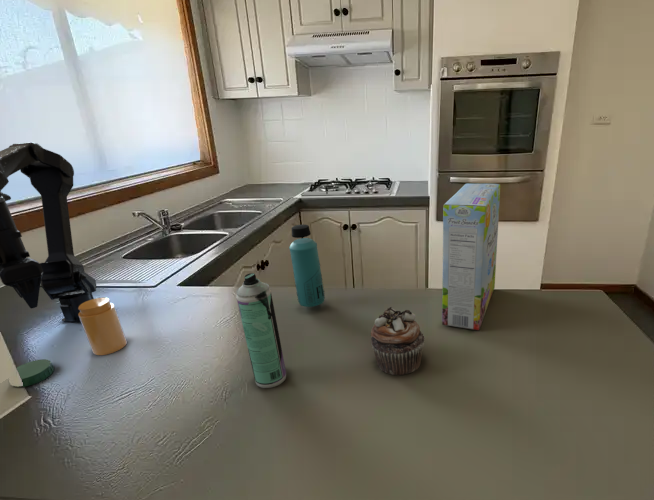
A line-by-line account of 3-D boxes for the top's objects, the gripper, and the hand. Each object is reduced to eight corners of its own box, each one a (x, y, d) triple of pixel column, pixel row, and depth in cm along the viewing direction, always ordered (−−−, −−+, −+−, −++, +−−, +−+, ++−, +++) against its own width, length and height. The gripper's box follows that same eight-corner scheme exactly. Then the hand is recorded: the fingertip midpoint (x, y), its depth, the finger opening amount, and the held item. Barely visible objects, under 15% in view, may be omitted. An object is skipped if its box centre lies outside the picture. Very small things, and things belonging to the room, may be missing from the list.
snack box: (483, 332, 84) (487, 205, 74) (440, 327, 87) (438, 204, 77) (497, 288, 102) (502, 181, 92) (461, 285, 106) (462, 181, 96)
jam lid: (2, 390, 78) (-2, 382, 77) (24, 369, 84) (21, 361, 84) (42, 384, 79) (38, 376, 78) (61, 364, 85) (58, 356, 85)
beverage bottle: (321, 313, 97) (309, 229, 89) (294, 312, 99) (280, 230, 91) (329, 301, 103) (319, 221, 95) (304, 300, 104) (291, 222, 97)
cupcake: (364, 373, 74) (359, 323, 70) (382, 345, 83) (379, 299, 79) (417, 382, 71) (415, 330, 67) (430, 351, 79) (429, 303, 75)
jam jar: (107, 339, 94) (92, 296, 90) (133, 339, 93) (118, 296, 89) (85, 355, 88) (67, 310, 84) (112, 355, 87) (96, 310, 83)
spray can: (292, 371, 77) (273, 269, 69) (276, 390, 72) (254, 282, 64) (266, 367, 78) (245, 267, 71) (249, 385, 74) (224, 280, 66)
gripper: (-65, 233, 81) (-29, 306, 87) (-55, 248, 69) (-15, 331, 75) (7, 219, 89) (36, 287, 95) (27, 231, 77) (58, 307, 83)
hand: (28, 302), depth 87 cm, fingers open, 9 cm apart
